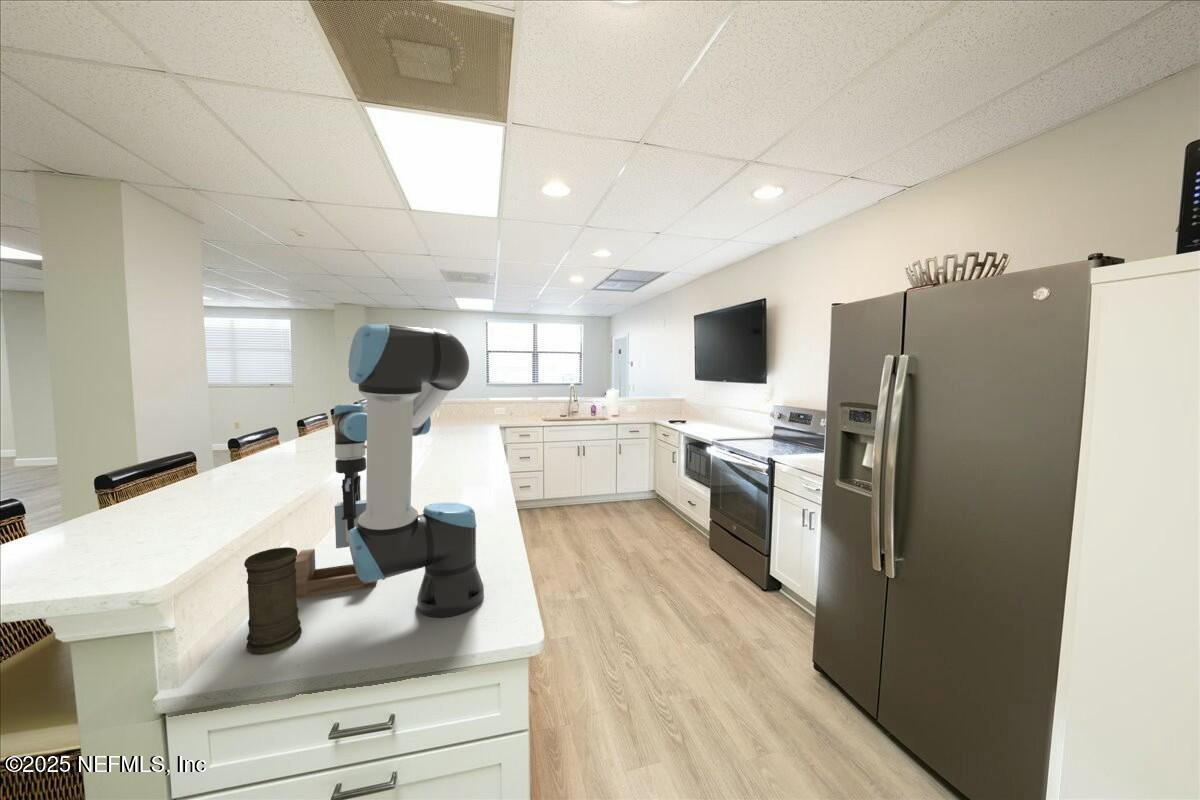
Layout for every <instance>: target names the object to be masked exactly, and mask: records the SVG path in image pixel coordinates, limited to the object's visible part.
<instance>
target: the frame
mask: <svg viewBox="0 0 1200 800" xmlns="http://www.w3.org/2000/svg"><path fill="white" fill-rule="evenodd" d="M295 569H296V594H297V599H301V598H302V599H303V598H308V597H314V596H322V595H326V594H327V595H328V594H334V593H340V592H346V591H352V590H360V589H367V588H372V587H376V586H377V584H378V581H379V580H377V581H372V582H363V581H361V580H360V579H359V577H358V575H357V573H356V570H355V567H354V564H353V563H351V564H345V565H337V566H330V567H323V568H316V549H315V548H311V549H301V550H300V551H299V553H298V554H297V556H296V563H295Z"/></svg>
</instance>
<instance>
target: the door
mask: <svg viewBox="0 0 1200 800" xmlns="http://www.w3.org/2000/svg"><path fill="white" fill-rule="evenodd" d="M365 510H366V499H361V500H359V501H356V517H357V528H358V518H359V516H360V515H361V514H362V513H363V512H364V511H365ZM343 516H344V512H343V501H342V502H341V501H340V502H339V501H338V502H337V503H336V504H335V505H334V524H335V525H334V526H335V529H334V530H335V549H343V548H350V547H349V542H346V521H345V520H342V518H343Z"/></svg>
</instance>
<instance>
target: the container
mask: <svg viewBox="0 0 1200 800" xmlns="http://www.w3.org/2000/svg"><path fill="white" fill-rule="evenodd" d="M298 554H299V553H298V550H297V549H296V548H294V547H291V546H290V547H286V546H284V547H277V548H270V549H267V550H263V551H259V552H256V553H254V554H252V555H250V556H248V557H247V558H246V559H245V560H244V564H243V566H244V568H245V569H246V573H247V580H246V584H247V598H248V622H247V625H248V634H247V637H246V641H247V642H246V645H245V646H246V651H247V652H248V653H249V654H251V655H257V656H258V655H259V656H262V655H268V654H274V653H277V652H280V651H282V650H285V649H286V648H288V647H291V646H292V645H293V644H296V643H297V641H298V640H299V639H300V638H301V636H302V633H303V631H302V626H301V620H300V619H299V607H298V602H297V601H298V598H297V594H296V569H295V563H296V556H297V555H298Z"/></svg>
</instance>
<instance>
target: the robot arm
mask: <svg viewBox="0 0 1200 800" xmlns="http://www.w3.org/2000/svg"><path fill="white" fill-rule="evenodd" d="M349 349H350V350H349V357H348V377H349V380H350V381H351V383H353V384H357V385H358V392H359V394H360V395H362V396H363V397H364V398H365V399H366V411H365V407H364V405H363V404H360V403H348V404H346V403H345V404H344V403H343V404H337V405H335V406H334V408H333V421H334V425H333V426H334V457H335V458H336V460H335V472H336V473H337V474H344V479H343V478H342V482H341V483H342V485H341V489H342V490H341V491H342V502H343V512H344V516H343V518H342V520H345V521H346V542H349V547H348V548H349V552H350V555H351V559H352V564H354V567H355V570H356V573H357V575H358V577H359V579H360V580H361V581H363V582H372V581H377V580H378V581H381V580H382V581H383V580H386V579H387V578H391V577H394V576H397V575H402V574H405V573H408V572H409V573H410V572H412V571H415V570H419V569H422V568H424V575H423V577H422V580H421V584H420V587H419V590H418V594H417V599H416V600H417V605H416V606H417V609H418V611H419V612H420V613H422V614H423V615H425V616H429V617H435V618H444V617H445V618H446V617H453V616H458V615H461V614H464V613H467V612H469V611H471V610H473V609H475V608H476V607H477V606H478V605H479V604H480V603H481V602H482V601H483V599H484V596H485V593H484V592H485V589H484V588H485V587H484V586H485V585H484V583H483V581H482V578H481V575H480V572H479V569H478V566H477V522H476V512H475V510H474V508H472V507H471V506H470V505H468V504H464V503H459V502H435V503H429V504H428V505H425V506H424V508H423V510H422V513H423V514H422V513H421V514H419V512H418V510H417V509H416V508H415V507H413V506H412V471H413V469H412V467H413V465H412V464H413V437H417V436H421V435H426V434H428V433H429V432H430V430H431V429H430V428H431V426H432V425H431V424H432V423H431V422H432V420H431V416H432V414H433V413H434V411H435V410H436V409H437V408H438V407H439V405H440V404H441V403H442V401H443V400H444V399H445V397H447V395H448V394H449V392H451V391H453V390H456V389H458V388H459V387H460V386H461V385H462V383H464V381H465V379H466V378H467V377H468V374H469V370H470V358H469V355H468V353H467V349H466V348H465V346H464V344H463V343H462V342H461V341H460V340H459V339H458V338H457V337H455V335H453V334H452V333H449V332H448V331H446V330H442V329H438V328H432V327H431V328H428V327H427V328H425V327H418V326H417V327H416V326H405V325H404V326H403V325H393V324H387V323H383V324H382V323H380V324H379V323H378V324H377V323H376V324H373V323H372V324H371V323H370V324H369V323H366V324H363V325H361V326H359V327H358V328H357V329H356V332H355V333H354V336H353V338H352V341H351V345H350V348H349ZM365 444H366V445H365ZM365 456H366V457H365ZM365 470H366V483H365V486H366V487H365V488H366V490H365V491H366V494H365V496H366V498H365V500H366V510H365V511H364V512H363V513H362V514H361V515H360V516H359V518H358V528H357V517H356V501H359V500H362V498H361V497H362V496H361V479H362V477H361V475H360V474H359V473H360V472H363V471H365ZM378 581H377V582H378Z"/></svg>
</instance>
